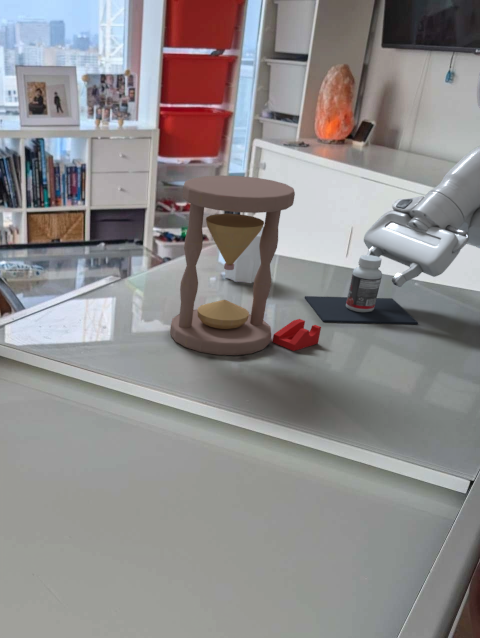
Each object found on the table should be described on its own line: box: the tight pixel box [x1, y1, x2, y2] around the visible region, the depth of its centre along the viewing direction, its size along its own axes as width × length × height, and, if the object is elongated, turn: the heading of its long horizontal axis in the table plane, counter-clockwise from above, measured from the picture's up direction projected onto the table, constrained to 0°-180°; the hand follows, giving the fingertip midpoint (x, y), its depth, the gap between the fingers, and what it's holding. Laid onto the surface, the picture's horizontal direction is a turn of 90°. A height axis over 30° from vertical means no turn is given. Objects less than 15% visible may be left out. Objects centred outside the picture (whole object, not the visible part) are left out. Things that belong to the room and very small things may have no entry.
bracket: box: [272, 318, 322, 352], centre depth 132 cm, size 6×5×3 cm
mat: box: [304, 295, 419, 325], centre depth 148 cm, size 18×14×1 cm
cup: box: [224, 225, 264, 284], centre depth 161 cm, size 10×10×10 cm
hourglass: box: [169, 175, 296, 356], centre depth 127 cm, size 18×18×25 cm
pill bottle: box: [346, 254, 383, 312], centre depth 145 cm, size 5×5×10 cm
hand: (378, 276), depth 145 cm, fingers open, 8 cm apart
